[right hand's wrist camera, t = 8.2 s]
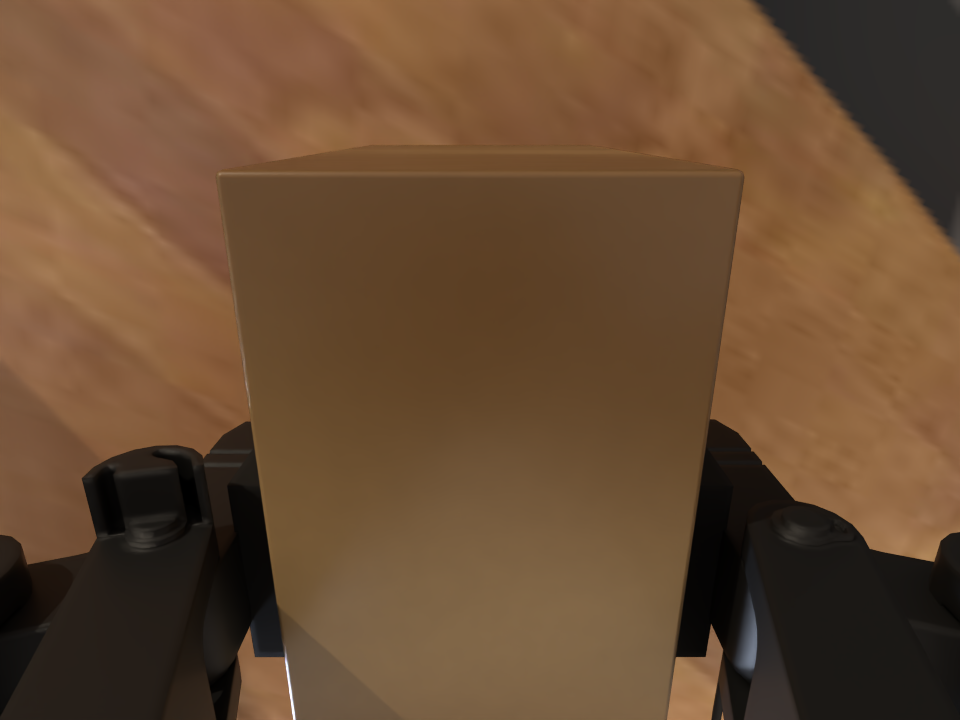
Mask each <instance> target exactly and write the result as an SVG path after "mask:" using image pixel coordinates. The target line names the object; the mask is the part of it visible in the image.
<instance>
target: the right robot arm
mask: <svg viewBox="0 0 960 720" xmlns="http://www.w3.org/2000/svg"><path fill="white" fill-rule="evenodd" d="M82 481H83V485H84V489H85V493H86V497H87V501H88V505H89V509H90V512H91V516H92V520H93V524H94V528H95V532H96V536H97V539H96V541H95V543H94V544H93V546H92V548H91V550H90V552H88V553H84V554H80V555H76V556H71V557H65V558H60V559H55V560H50V561H45V562H39V563H34V564H29V565H27V562H26V559H25V556H24V553H23V549H22V546H21V544H20V543H19V542H18V541H16V540H15V539H14V538H13V537H11V536H4V535H0V720H236V717H237V710H238V703H239V696H240V689H241V682H242V681H241V673H240V666H239V660H238V655H237V652H238V650H239V648H240V646H241V644H242V642H243V639H244V637H245V635H246V633H247V631H248V629H249V626H250V629H251V636H252V642H253V648H254V654H255V657H284V650H283V643H282V636H281V629H280V622H279V615H278V608H277V601H276V594H275V587H274V580H273V573H272V566H271V559H270V552H269V545H268V538H267V531H266V524H265V517H264V510H263V503H262V496H261V489H260V482H259V475H258V468H257V461H256V454H255V447H254V440H253V433H252V427H251V422H245V423H243V424H241V425H239V426H238V427H236V428H234V429H233V430H231V431H229V432H228V433H226V434H224V435H223V436H222V437H221V438H220V439H219V441H218V442H217V443H216V444H215V445H214V447H213V448H212V449H211V450H210V454H207V455H206V456H205V457H204V459H203V457H202V455H201V454H200V453H198V452H197V451H196V450H194V449H192V448H188V447H183V446H178V445H170V446H153V447H147V448H142V449H136V450H132V451H129V452H126V453H123V454H120V455H117V456H114V457H112V458H110V459H108V460H106V461H104V462H102V463H101V464H99V465H97V466H95V467H93V468H92V469H91V470H90V471H89V472H88V473H87V474H86V475H85V476H84V477H83V478H82ZM711 624H712V626H713V628H714V631H715V633H716V635H717V637H718V639H719V641H720V643H721V646H722V648H723V655H722V660H721V666H720V672H719V677H718V683H717V689H716V694H715V700H714V706H713V712H712V720H721V716H722V712H723V716H724V720H960V532H958V533H951V534H949V535H948V536H947V537H945V538H944V539H943V540H941V542H940V545H939V548H938V552H937V555H936V558H935V561H934V562H931V561H926V560H921V559H916V558H911V557H905V556H900V555H895V554H890V553H884V552H880V551H876V550H872V549H869V547H868V545H867V543H866V541H865V540H864V538H863V536H862V535H861V534H860V533H859V532H858V531H857V529H856V528H855V527H854V526H853V525H852V524H851V523H849V522H848V521H846V520H845V519H843V518H841V517H840V516H838V515H837V514H835V513H833V512H830V511H828V510H825V509H823V508H820V507H818V506H815V505H812V504H808V503H803V502H798V501H795V500H794V499H793V498H792V497H791V495H790V494H789V493H788V492H787V491H786V489H785V488H784V487H783V486H782V485H781V484H780V482H779V481H778V480H777V479H776V478H775V476H774V475H773V474H772V473H771V472H770V470H769V469H768V468H767V467H766V466H765V465H762V461H761V460H760V459H759V457H758V456H757V455H756V454H755V453H754V452H751V448H750V447H749V446H748V444H747V443H746V442H745V441H744V440H743V438H742V437H741V436H740V435H739V434H738V433H737V432H735V431H734V430H732V429H730V428H729V427H727V426H725V425H723V424H722V423H720V422H718V421H717V420H710V421H709V428H708V435H707V442H706V448H705V455H704V462H703V469H702V476H701V483H700V490H699V497H698V504H697V511H696V518H695V525H694V532H693V539H692V546H691V553H690V560H689V567H688V574H687V581H686V588H685V595H684V602H683V609H682V616H681V623H680V630H679V637H678V644H677V651H676V657H706V651H707V645H708V639H709V633H710V627H711Z"/></svg>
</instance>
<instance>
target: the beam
mask: <svg viewBox="0 0 960 720" xmlns="http://www.w3.org/2000/svg"><path fill="white" fill-rule="evenodd" d="M216 183H217V190H218V196H219V203H220V210H221V217H222V224H223V231H224V238H225V245H226V252H227V259H228V266H229V273H230V280H231V287H232V294H233V301H234V308H235V315H236V322H237V329H238V336H239V343H240V350H241V357H242V364H243V371H244V378H245V385H246V392H247V399H248V406H249V413H250V420H251V427H252V433H253V440H254V447H255V454H256V461H257V468H258V475H259V482H260V489H261V496H262V503H263V510H264V517H265V524H266V531H267V538H268V545H269V552H270V559H271V566H272V573H273V580H274V587H275V594H276V601H277V608H278V615H279V622H280V629H281V636H282V643H283V650H284V657H285V664H286V671H287V677H288V684H289V691H290V698H291V705H292V712H293V719H294V720H667V714H668V707H669V700H670V693H671V686H672V679H673V672H674V665H675V658H676V651H677V644H678V637H679V630H680V623H681V616H682V609H683V602H684V595H685V588H686V581H687V574H688V567H689V560H690V553H691V546H692V539H693V532H694V525H695V518H696V511H697V504H698V497H699V490H700V483H701V476H702V469H703V462H704V455H705V448H706V442H707V435H708V428H709V421H710V414H711V407H712V400H713V393H714V386H715V379H716V372H717V365H718V358H719V351H720V344H721V337H722V330H723V323H724V316H725V309H726V302H727V295H728V288H729V281H730V274H731V267H732V260H733V253H734V246H735V239H736V232H737V225H738V218H739V211H740V204H741V197H742V190H743V183H744V174H743V172H742V171H740V170H737V169H731V168H725V167H719V166H713V165H707V164H701V163H695V162H689V161H683V160H677V159H671V158H665V157H659V156H653V155H646V154H640V153H634V152H628V151H622V150H616V149H610V148H604V147H598V146H592V145H370V146H364V147H357V148H351V149H345V150H339V151H333V152H327V153H321V154H315V155H309V156H303V157H296V158H290V159H284V160H278V161H272V162H266V163H260V164H254V165H248V166H242V167H235V168H229V169H223V170H221V171H218V172H217V174H216Z"/></svg>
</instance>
